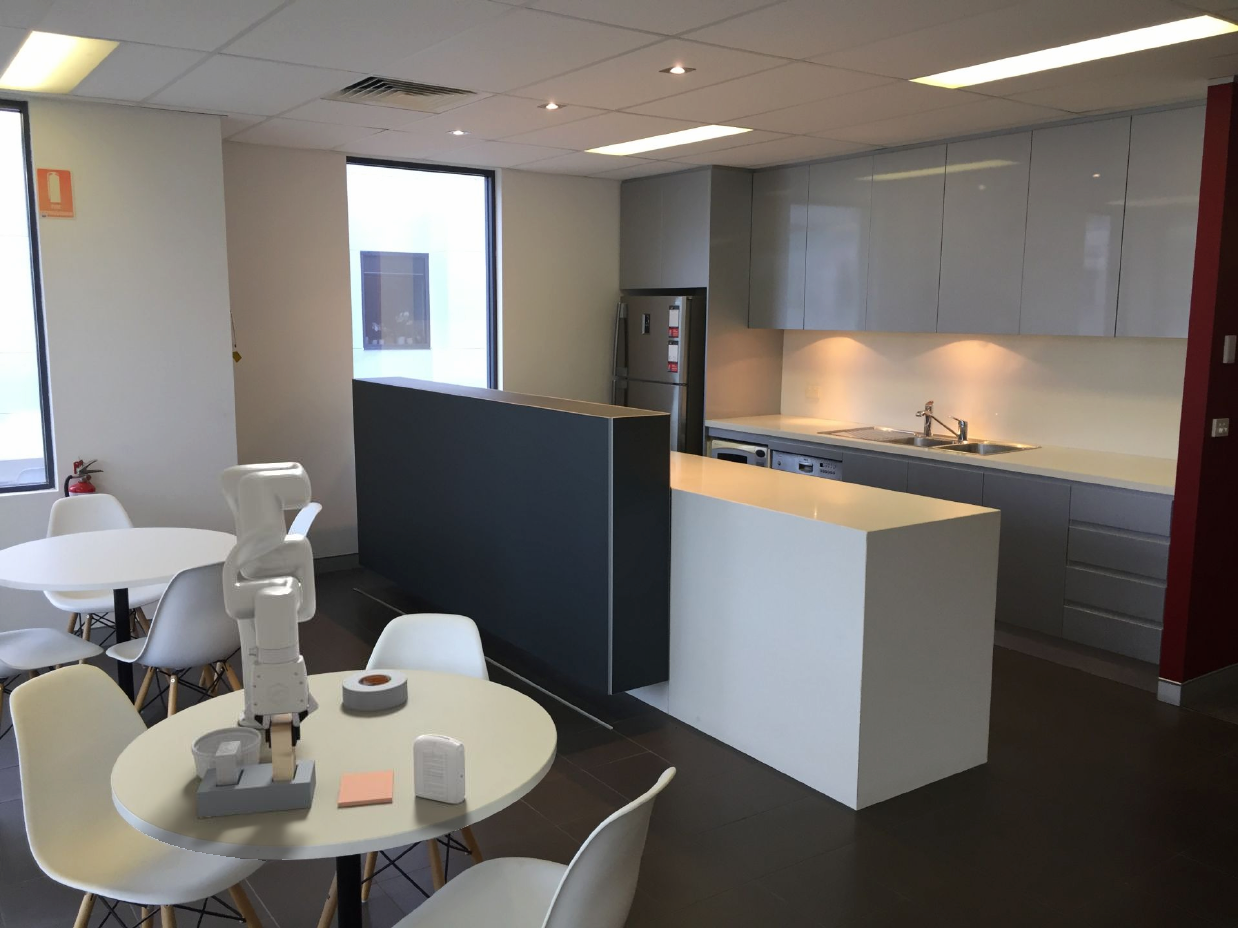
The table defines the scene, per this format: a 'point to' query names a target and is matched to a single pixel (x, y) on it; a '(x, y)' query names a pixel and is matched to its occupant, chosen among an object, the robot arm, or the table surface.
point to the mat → (366, 788)
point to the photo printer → (439, 768)
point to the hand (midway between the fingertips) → (283, 743)
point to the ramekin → (210, 742)
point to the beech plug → (282, 748)
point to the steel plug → (229, 763)
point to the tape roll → (374, 690)
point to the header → (257, 791)
